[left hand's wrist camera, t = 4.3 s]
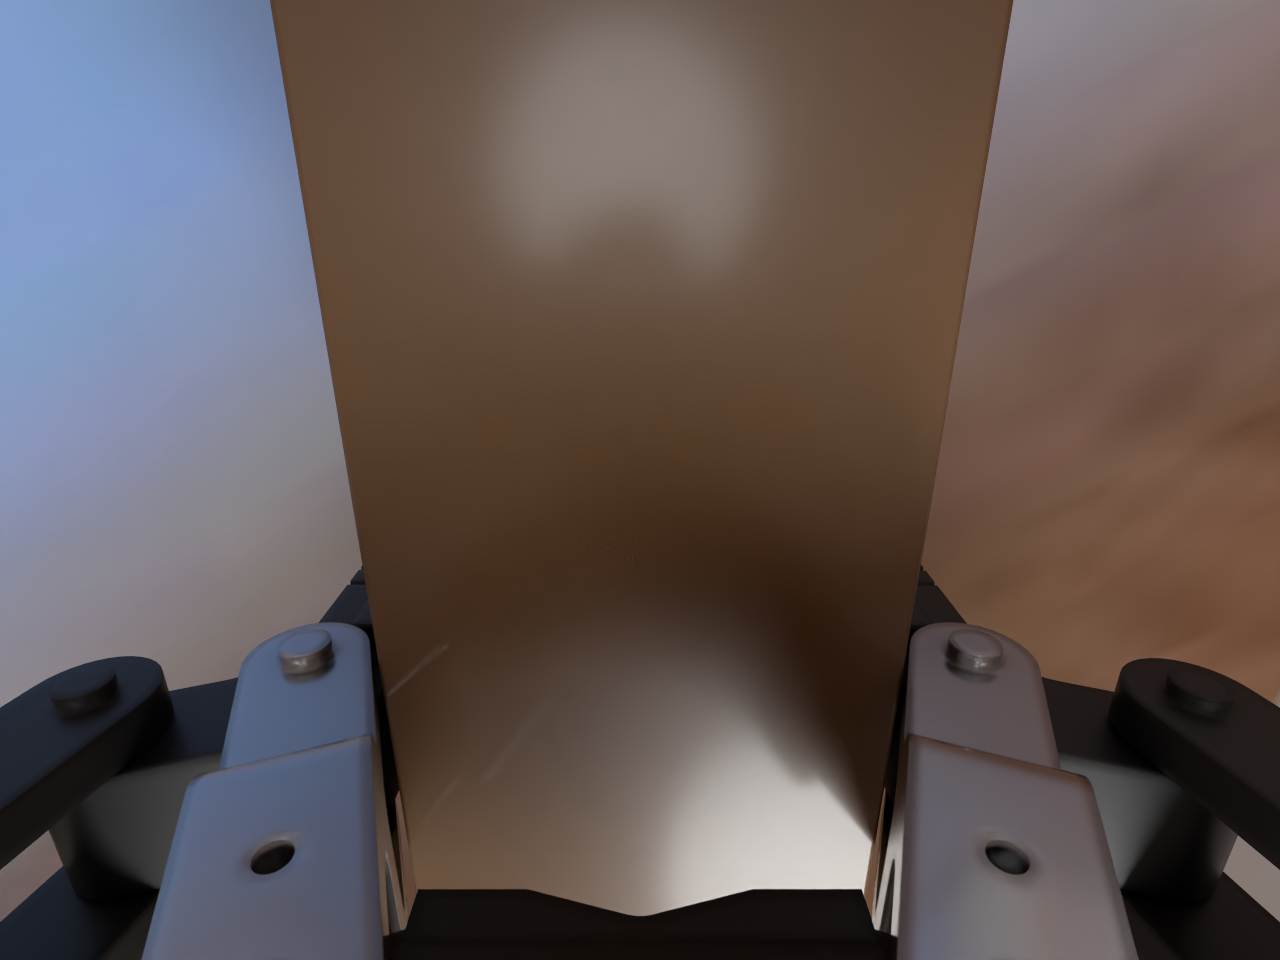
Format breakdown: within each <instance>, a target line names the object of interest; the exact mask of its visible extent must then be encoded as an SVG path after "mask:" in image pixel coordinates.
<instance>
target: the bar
mask: <svg viewBox="0 0 1280 960" xmlns="http://www.w3.org/2000/svg"><path fill="white" fill-rule="evenodd" d="M270 3H271V9H272V15H273V21H274V27H275V33H276V40H277V46H278V52H279V58H280V64H281V70H282V76H283V82H284V88H285V95H286V101H287V107H288V113H289V119H290V125H291V131H292V137H293V143H294V149H295V156H296V162H297V168H298V174H299V180H300V186H301V192H302V198H303V204H304V210H305V217H306V223H307V229H308V235H309V241H310V247H311V253H312V259H313V265H314V271H315V278H316V284H317V290H318V296H319V302H320V308H321V314H322V320H323V326H324V332H325V339H326V345H327V351H328V357H329V363H330V369H331V375H332V381H333V387H334V394H335V400H336V406H337V412H338V418H339V424H340V430H341V436H342V442H343V448H344V455H345V461H346V467H347V473H348V479H349V485H350V491H351V497H352V503H353V509H354V516H355V522H356V528H357V534H358V540H359V546H360V552H361V558H362V564H363V570H364V577H365V583H366V589H367V595H368V601H369V607H370V613H371V619H372V625H373V631H374V638H375V644H376V650H377V656H378V662H379V668H380V674H381V680H382V686H383V692H384V699H385V705H386V711H387V717H388V723H389V729H390V735H391V741H392V747H393V754H394V760H395V766H396V772H397V778H398V784H399V790H400V796H401V802H402V808H403V815H404V821H405V827H406V833H407V839H408V845H409V851H410V857H411V863H412V869H413V876H414V882H415V888H416V894H417V891H418V889H529V890H533V891H537V892H541V893H544V894H548V895H552V896H556V897H560V898H564V899H568V900H572V901H576V902H580V903H584V904H588V905H592V906H596V907H600V908H604V909H608V910H612V911H616V912H620V913H623V914H627V915H633V916H647V915H653V914H657V913H660V912H664V911H668V910H672V909H676V908H680V907H684V906H688V905H692V904H696V903H700V902H704V901H708V900H712V899H716V898H720V897H724V896H728V895H732V894H736V893H739V892H743V891H747V890H751V889H862V891H863V895H864V898H865V901H866V895H867V889H868V882H869V876H870V870H871V864H872V858H873V852H874V846H875V840H876V834H877V828H878V822H879V815H880V809H881V803H882V797H883V791H884V785H885V779H886V773H887V767H888V761H889V754H890V748H891V742H892V736H893V730H894V724H895V718H896V712H897V706H898V700H899V694H900V687H901V681H902V675H903V669H904V663H905V657H906V651H907V645H908V639H909V633H910V627H911V620H912V614H913V608H914V602H915V596H916V590H917V584H918V578H919V572H920V566H921V560H922V553H923V547H924V541H925V535H926V529H927V523H928V517H929V511H930V505H931V499H932V493H933V486H934V480H935V474H936V468H937V462H938V456H939V450H940V444H941V438H942V432H943V425H944V419H945V413H946V407H947V401H948V395H949V389H950V383H951V377H952V371H953V365H954V358H955V352H956V346H957V340H958V334H959V328H960V322H961V316H962V310H963V304H964V298H965V291H966V285H967V279H968V273H969V267H970V261H971V255H972V249H973V243H974V237H975V231H976V224H977V218H978V212H979V206H980V200H981V194H982V188H983V182H984V176H985V170H986V164H987V157H988V151H989V145H990V139H991V133H992V127H993V121H994V115H995V109H996V103H997V96H998V90H999V84H1000V78H1001V72H1002V66H1003V60H1004V54H1005V48H1006V42H1007V36H1008V29H1009V23H1010V17H1011V11H1012V5H1013V0H270Z"/></svg>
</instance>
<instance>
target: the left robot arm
mask: <svg viewBox="0 0 1280 960" xmlns="http://www.w3.org/2000/svg"><path fill="white" fill-rule="evenodd" d="M884 786H885V789H886V792H885V798H884V804H883V810H882V816H881V826H880V836H879V847H878V857H877V868H876V878H875V889H874V899H873V910H872V919H871V916H870V913H869V910H868V907H867V904H866V901H865V898H864V895H863V891H862V889H751V890H747V891H743V892H739V893H736V894H732V895H728V896H724V897H720V898H716V899H712V900H708V901H704V902H700V903H696V904H692V905H688V906H684V907H680V908H676V909H672V910H668V911H664V912H660V913H657V914H653V915H647V916H633V915H627V914H623V913H620V912H616V911H612V910H608V909H604V908H600V907H596V906H592V905H588V904H584V903H580V902H576V901H572V900H568V899H564V898H560V897H556V896H552V895H548V894H544V893H541V892H537V891H533V890H529V889H418V891H417V895H416V898H415V901H414V904H413V907H412V910H411V913H410V916H409V919H408V910H407V899H406V889H405V878H404V868H403V857H402V847H401V836H400V826H399V816H398V810H397V804H396V796H397V794H398V791H399V784H398V778H397V772H396V766H395V760H394V754H393V747H392V741H391V735H390V729H389V723H388V717H387V711H386V705H385V699H384V692H383V686H382V680H381V674H380V668H379V662H378V656H377V650H376V644H375V638H374V631H373V625H372V619H371V613H370V607H369V601H368V595H367V589H366V583H365V577H364V570H363V565H362V570H359V571H358V572H357V573H356V575H355V576H354V577H353V578H352V580H351V584H350V585H347V586H346V588H345V589H344V590H343V592H342V593H341V594H340V595H339V597H338V598H337V599H336V601H335V602H334V603H333V605H332V606H331V607H330V609H329V610H328V611H327V612H326V614H325V615H324V616H323V618H322V619H321V620H320V622H319V623H316V624H309V625H305V626H301V627H297V628H294V629H290V630H287V631H285V632H282V633H280V634H278V635H276V636H274V637H272V638H270V639H268V640H266V641H265V642H263V643H261V644H260V645H259V646H257V647H256V648H255V649H254V650H252V651H251V652H250V653H249V654H248V656H247V657H246V658H245V660H244V661H243V663H242V665H241V668H240V672H239V677H238V678H234V679H229V680H225V681H220V682H215V683H209V684H204V685H199V686H194V687H189V688H183V689H178V690H173V691H169V690H168V687H167V684H166V680H165V677H164V673H163V670H162V668H161V666H160V665H159V664H158V663H157V662H155V661H153V660H151V659H148V658H144V657H135V656H124V657H114V658H107V659H102V660H97V661H93V662H90V663H86V664H83V665H80V666H77V667H74V668H71V669H68V670H66V671H64V672H61V673H59V674H57V675H54V676H52V677H50V678H48V679H46V680H44V681H43V682H41V683H39V684H38V685H36V686H34V687H33V688H31V689H29V690H28V691H26V692H25V693H23V694H21V695H20V696H18V697H17V698H15V699H13V700H12V701H10V702H9V703H7V704H5V705H4V706H2V707H1V708H0V870H1V869H2V868H3V867H4V866H5V865H7V864H8V863H9V862H10V861H11V860H13V859H14V858H15V857H16V856H17V855H19V854H20V853H21V852H22V851H23V850H25V849H26V848H27V847H28V846H30V845H31V844H32V843H33V842H34V841H36V840H37V839H38V838H39V837H40V836H42V835H43V834H44V833H45V832H46V831H48V830H49V832H50V834H51V837H52V839H53V842H54V844H55V846H56V849H57V851H58V854H59V856H60V859H61V861H62V864H63V867H61V868H60V869H59V870H58V871H57V872H56V873H55V874H54V875H52V876H51V877H50V878H49V879H48V880H47V881H46V882H45V883H44V884H42V885H41V886H40V887H39V888H38V889H37V890H36V891H35V892H33V893H32V894H31V895H30V896H29V897H28V898H27V899H26V900H25V901H23V902H22V903H21V904H20V905H19V906H18V907H17V908H16V909H15V910H13V911H12V912H11V913H10V914H9V915H8V916H7V917H6V918H4V919H3V920H2V921H1V922H0V960H1280V922H1279V921H1278V920H1277V919H1275V918H1274V917H1273V916H1272V915H1271V914H1270V913H1269V912H1268V911H1267V910H1265V909H1264V908H1263V907H1262V906H1261V905H1260V904H1259V903H1258V902H1257V901H1255V900H1254V899H1253V898H1252V897H1251V896H1250V895H1249V894H1248V893H1247V892H1245V891H1244V890H1243V889H1242V888H1241V887H1240V886H1239V885H1237V884H1236V883H1235V882H1234V881H1233V880H1232V879H1231V878H1230V877H1229V876H1228V875H1226V874H1225V873H1224V872H1223V870H1224V867H1225V865H1226V862H1227V860H1228V858H1229V855H1230V853H1231V850H1232V848H1233V846H1234V843H1235V841H1236V839H1237V836H1240V837H1241V838H1242V839H1243V840H1244V841H1246V842H1247V843H1248V844H1249V845H1251V846H1252V847H1253V848H1254V849H1255V850H1257V851H1258V852H1259V853H1260V854H1261V855H1263V856H1264V857H1265V858H1266V859H1267V860H1269V861H1270V862H1271V863H1272V864H1273V865H1275V866H1276V867H1277V868H1278V869H1279V870H1280V708H1279V707H1278V706H1276V705H1275V704H1273V703H1271V702H1270V701H1268V700H1267V699H1265V698H1263V697H1262V696H1260V695H1259V694H1257V693H1255V692H1254V691H1252V690H1251V689H1249V688H1247V687H1246V686H1244V685H1242V684H1240V683H1239V682H1237V681H1235V680H1233V679H1231V678H1229V677H1227V676H1225V675H1222V674H1220V673H1217V672H1215V671H1212V670H1209V669H1206V668H1203V667H1200V666H1197V665H1194V664H1190V663H1186V662H1181V661H1176V660H1170V659H1161V658H1147V659H1139V660H1134V661H1132V662H1129V663H1127V664H1126V665H1125V666H1124V667H1123V668H1122V670H1121V672H1120V675H1119V678H1118V682H1117V685H1116V688H1115V692H1112V691H1107V690H1101V689H1096V688H1091V687H1086V686H1080V685H1075V684H1070V683H1065V682H1060V681H1056V680H1051V679H1047V678H1044V677H1041V672H1040V668H1039V665H1038V663H1037V661H1036V660H1035V658H1034V657H1033V656H1032V654H1031V653H1030V652H1029V651H1028V650H1026V649H1025V648H1024V647H1023V646H1021V645H1020V644H1019V643H1017V642H1015V641H1014V640H1012V639H1010V638H1008V637H1006V636H1004V635H1002V634H1000V633H998V632H995V631H993V630H990V629H986V628H983V627H979V626H975V625H971V624H967V623H966V622H965V621H964V620H963V618H962V617H961V616H960V614H959V613H958V612H957V610H956V609H955V608H954V607H953V605H952V604H951V603H950V601H949V600H948V599H947V598H946V596H945V595H944V594H943V592H942V591H941V590H940V589H939V587H938V586H935V585H934V581H933V580H932V578H931V577H930V576H929V574H928V573H927V572H926V571H923V567H922V565H921V566H920V572H919V578H918V584H917V590H916V596H915V602H914V608H913V614H912V620H911V627H910V633H909V639H908V645H907V651H906V657H905V663H904V669H903V675H902V681H901V687H900V694H899V700H898V706H897V712H896V718H895V724H894V730H893V736H892V742H891V748H890V754H889V761H888V767H887V773H886V779H885V785H884Z"/></svg>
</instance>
